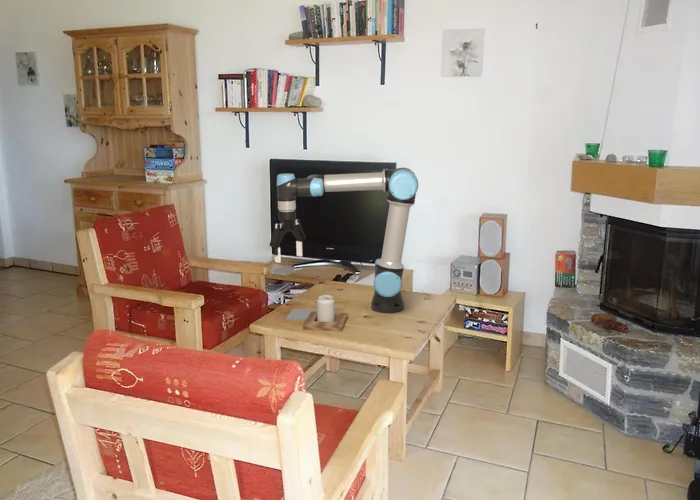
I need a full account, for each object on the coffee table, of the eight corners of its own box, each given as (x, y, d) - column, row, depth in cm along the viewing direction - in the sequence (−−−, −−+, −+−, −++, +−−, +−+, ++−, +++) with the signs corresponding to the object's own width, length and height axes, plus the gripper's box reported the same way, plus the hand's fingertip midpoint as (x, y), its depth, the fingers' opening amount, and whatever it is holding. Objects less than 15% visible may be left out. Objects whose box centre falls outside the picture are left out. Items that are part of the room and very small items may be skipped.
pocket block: (347, 318, 257) (347, 313, 256) (341, 331, 241) (341, 325, 241) (311, 316, 259) (311, 311, 258) (303, 329, 243) (303, 323, 243)
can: (321, 328, 245) (321, 300, 242) (314, 322, 252) (313, 295, 249) (337, 325, 248) (337, 297, 246) (330, 319, 255) (329, 293, 252)
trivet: (319, 311, 265) (318, 309, 265) (313, 320, 254) (313, 318, 253) (292, 310, 267) (292, 308, 267) (286, 319, 255) (286, 317, 255)
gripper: (300, 206, 262) (301, 252, 267) (259, 213, 243) (261, 263, 247) (312, 207, 258) (314, 254, 262) (272, 215, 238) (274, 266, 243)
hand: (288, 259), depth 255 cm, fingers open, 13 cm apart
